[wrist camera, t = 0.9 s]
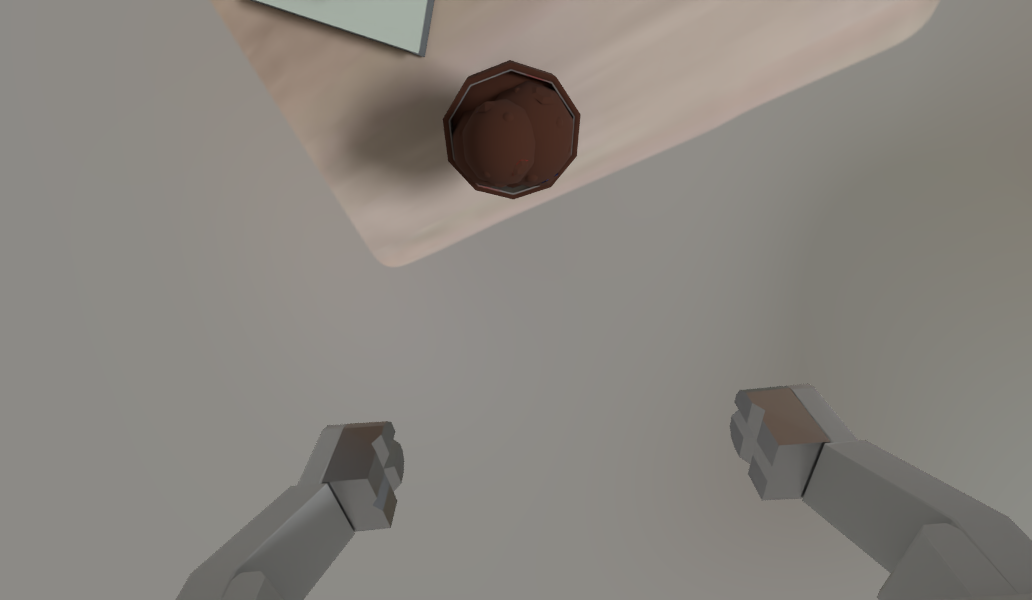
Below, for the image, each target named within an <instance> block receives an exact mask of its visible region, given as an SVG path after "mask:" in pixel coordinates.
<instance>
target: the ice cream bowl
mask: <svg viewBox="0 0 1032 600" xmlns="http://www.w3.org/2000/svg"><path fill="white" fill-rule="evenodd" d="M443 124H444V132H445V140H446V147H447V155H448V161H449V162H450V163H451V164H452V166H453V167H454V168H455V169H456V170H457V171H458V172H459V173H460V174H461V175H462V176H463V177H464V178H465V179H466V180H467V182H468V183H469V184H470V185H471V186H472V187H473V188H474V189H475V190H477V191H481V192H486V193H490V194H494V195H498V196H502V197H506V198H510V199H516V198H519V197H522V196H525V195H528V194H531V193H534V192H537V191H540V190H543V189H546V188H549V187H551V186H552V185H553V184H554V183H555V181H556V180H557V179H558V178H559V177H560V175H561V174H562V173H563V172H564V171H565V169H566V168H567V167H568V166H569V165H570V163H571V162H572V161H573V160H574V159H575V158H576V156H577V146H578V135H579V124H580V113H579V112H578V110H577V108H576V107H575V105H574V104H573V102H572V101H571V99H570V98H569V96H568V95H567V93H566V91H565V90H564V88H563V87H562V85H561V84H560V82H559V81H558V79H557V78H556V76H554V75H553V74H551V73H548V72H545V71H542V70H539V69H536V68H533V67H529V66H526V65H523V64H520V63H517V62H514V61H511V60H509V61H507V62H504V63H502V64H499V65H497V66H494V67H491V68H489V69H486V70H484V71H481V72H479V73H476V74H473V75H471V76H469V77H468V78H467V79H466V81H465V82H464V84H463V86H462V88H461V89H460V91H459V93H458V94H457V96H456V98H455V99H454V101H453V103H452V105H451V106H450V108H449V110H448V111H447V113H446V115H445V116H444V118H443Z"/></svg>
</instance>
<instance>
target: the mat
mask: <svg viewBox="0 0 1032 600" xmlns="http://www.w3.org/2000/svg"><path fill="white" fill-rule="evenodd" d="M251 1H254V2H257V3H260V4H263V5H266V6H269V7H272V8H276V9H279V10H282V11H285V12H288V13H291V14H294V15H297V16H300V17H303V18H306V19H309V20H312V21H315V22H318V23H321V24H325V25H328V26H331V27H334V28H337V29H340V30H343V31H346V32H349V33H352V34H355V35H358V36H361V37H364V38H367V39H370V40H374V41H377V42H380V43H383V44H386V45H389V46H392V47H395V48H398V49H401V50H404V51H407V52H410V53H413V54H416V55H420V56H423V57H425V52H426V46H427V40H428V35H429V29H430V23H431V17H432V11H433V5H434V0H428V1H427V8H426V14H425V20H424V26H423V32H422V38H421V45H420V50H419V53H415V52H412V51H409V50H406V49H403V48H400V47H397V46H394V45H391V44H388V43H385V42H382V41H379V40H376V39H373V38H369V37H366V36H363V35H360V34H357V33H354V32H351V31H348V30H345V29H342V28H339V27H336V26H333V25H330V24H327V23H324V22H321V21H318V20H314V19H311V18H308V17H305V16H302V15H299V14H296V13H293V12H290V11H287V10H284V9H281V8H278V7H275V6H272V5H269V4H266V3H263V2H260V1H256V0H251Z"/></svg>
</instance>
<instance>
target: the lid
mask: <svg viewBox="0 0 1032 600" xmlns="http://www.w3.org/2000/svg"><path fill="white" fill-rule="evenodd" d="M256 1H260V2H263V3H266V4H269V5H272V6H275V7H278V8H281V9H284V10H287V11H290V12H293V13H296V14H299V15H302V16H305V17H308V18H311V19H314V20H318V21H321V22H324V23H327V24H330V25H333V26H336V27H339V28H342V29H345V30H348V31H351V32H354V33H357V34H360V35H363V36H366V37H369V38H373V39H376V40H379V41H382V42H385V43H388V44H391V45H394V46H397V47H400V48H403V49H406V50H409V51H412V52H415V53H419V50H420V45H421V38H422V32H423V26H424V20H425V14H426V8H427V1H428V0H256Z"/></svg>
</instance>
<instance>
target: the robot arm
mask: <svg viewBox="0 0 1032 600" xmlns="http://www.w3.org/2000/svg"><path fill="white" fill-rule="evenodd" d="M735 404H736V406H737V407H738V409H739V410H738V411H737V412H735V414H733V415H732V417H731V423H730V431H731V438H732V441H733V444H734V447H735V449H736V451H737V453H738V455H739V457H740V458H742V459H743V460H745V461H746V462H748V463H749V464H750V468H749V472H748V475H749V477H750V478H751V480H752V482H753V484H754V486H755V488H756V490H757V492H758V494H759V495H760V497H761V499H762V500H779V499H799V498H803V500H802V501H804V502H805V503H806V504H807V505H808V506H810V507H811V508H812V509H813V510H814V511H816V512H817V513H818V514H819V515H820V516H822V517H823V518H824V519H825V520H827V521H828V522H829V523H830V524H831V525H833V526H834V527H835V528H836V529H838V530H839V531H840V532H841V533H842V534H844V535H845V536H846V537H847V538H848V539H850V540H851V541H852V542H853V543H855V544H856V545H857V546H858V547H859V548H861V549H862V550H863V551H864V552H865V553H867V554H868V555H869V556H870V557H872V558H873V559H874V560H875V561H876V562H878V563H879V564H880V565H882V567H884V568H885V569H886V570H887V571H889V572H890V573H891V574H890V576H889V577H888V579H887V580H886V582H885V583H884V585H883V586H882V588H881V589H880V591H879V593H878V596H877V598H878V599H879V600H1032V540H1031V539H1030V538H1029V537H1028V536H1027V535H1026V534H1025V533H1024V532H1023V531H1022V530H1021V529H1020V528H1019V527H1018V526H1017V525H1016V524H1015V523H1014V522H1013V521H1012V520H1011V519H1010V518H1009V517H1007V516H1006V515H1004V514H1002V513H1000V512H998V511H996V510H994V509H993V508H991V507H989V506H987V505H985V504H983V503H982V502H980V501H978V500H976V499H974V498H972V497H970V496H969V495H966V494H965V493H963V492H961V491H959V490H957V489H955V488H954V487H952V486H950V485H948V484H946V483H944V482H943V481H941V480H939V479H937V478H935V477H933V476H931V475H930V474H928V473H926V472H924V471H922V470H920V469H918V468H916V467H915V466H913V465H911V464H909V463H907V462H905V461H903V460H902V459H900V458H898V457H896V456H894V455H893V454H891V453H889V452H887V451H885V450H883V449H881V448H879V447H878V446H876V445H874V444H872V443H870V442H868V441H866V440H858V439H857V438H856V437H855V436H854V435H853V433H852V432H851V431H850V430H849V429H848V427H847V426H846V425H845V424H844V422H843V421H842V420H841V419H840V418H839V416H838V415H837V414H836V413H835V412H834V410H833V409H832V408H831V407H830V406H829V404H828V403H827V402H826V401H825V400H824V398H823V397H822V396H821V395H820V393H819V392H818V391H817V390H816V389H815V387H813V386H812V385H810V384H799V385H790V386H777V387H767V388H757V389H746V390H740V391H739V392H738V393H737V394H736V398H735ZM394 435H395V430H394V427H393V425H392V423H391V422H388V421H386V422H369V423H353V424H344V425H328V426H327V427H326V428H324V429H323V431H322V432H321V434H320V437H319V439H318V441H317V443H316V445H315V447H314V450H313V452H312V454H311V456H310V458H309V461H308V463H307V465H306V467H305V469H304V472H303V474H302V476H301V478H300V480H299V482H298V485H297V486H291V487H289V488H288V489H287V490H286V491H285V492H284V493H282V494H281V495H280V496H279V497H278V498H277V499H276V500H274V501H273V502H272V503H271V504H270V505H269V506H268V507H266V508H265V509H264V510H263V511H262V512H261V513H260V514H258V515H257V516H256V517H255V518H254V519H253V520H252V521H250V522H249V523H248V524H247V525H246V526H245V527H244V528H242V529H241V530H240V531H239V532H238V533H237V534H236V535H234V536H233V537H232V538H231V539H230V540H229V541H228V542H227V543H225V544H224V545H223V546H222V547H221V548H220V549H219V550H218V551H216V552H215V553H214V554H213V555H212V556H211V557H209V558H208V559H207V560H206V561H205V562H204V563H202V564H201V565H200V566H199V567H198V568H197V569H196V570H194V571H193V572H192V573H191V574H190V576H189V577H188V579H187V581H186V583H185V585H184V586H183V588H182V590H181V591H180V593H179V595H178V596H177V598H176V600H304V598H305V597H306V595H308V593H309V592H310V591H311V589H312V588H313V587H314V586H315V584H316V583H317V582H318V580H319V579H320V578H321V577H322V575H323V574H324V573H325V571H326V570H327V569H328V568H329V566H330V565H331V564H332V562H333V561H334V560H335V559H336V557H337V556H338V555H339V553H340V552H341V551H342V550H343V548H344V547H345V546H346V545H347V543H348V542H349V541H350V539H351V538H352V537H353V536H354V534H355V533H354V532H355V531H365V530H375V529H384V528H391V525H392V520H393V516H394V512H395V508H396V504H397V499H396V497H395V495H394V491H395V489H396V488H397V487H398V486H399V485H400V484H401V482H402V478H403V473H404V456H403V450H402V448H401V445H400V444H399V443H398V442H396V441H395V440H394V439H393V438H394Z"/></svg>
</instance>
